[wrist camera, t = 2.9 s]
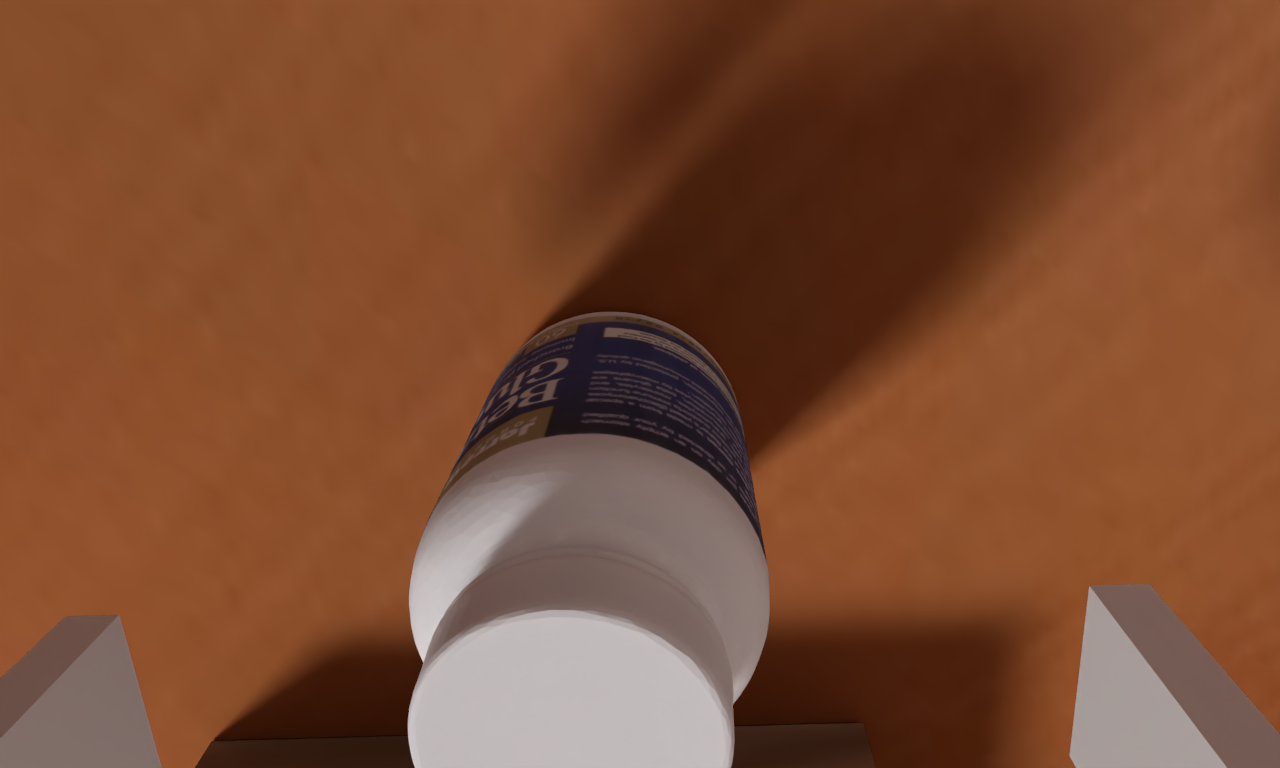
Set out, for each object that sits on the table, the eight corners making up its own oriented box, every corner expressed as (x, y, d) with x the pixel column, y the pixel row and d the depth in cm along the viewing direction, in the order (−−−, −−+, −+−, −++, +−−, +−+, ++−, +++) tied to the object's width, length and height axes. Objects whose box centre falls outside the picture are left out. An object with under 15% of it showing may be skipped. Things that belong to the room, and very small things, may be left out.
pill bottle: (551, 259, 19) (448, 473, 10) (785, 372, 20) (884, 666, 11) (450, 476, 21) (285, 822, 12) (668, 572, 22) (670, 968, 13)
